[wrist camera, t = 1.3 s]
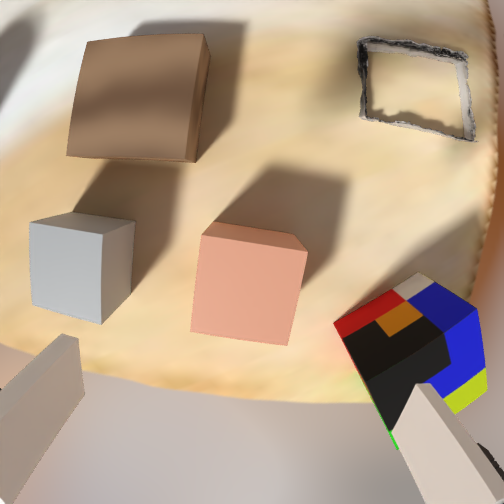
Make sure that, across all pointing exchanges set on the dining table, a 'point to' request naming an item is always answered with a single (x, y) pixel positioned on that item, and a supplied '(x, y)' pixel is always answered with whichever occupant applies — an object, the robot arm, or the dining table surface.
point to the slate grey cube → (81, 264)
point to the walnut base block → (140, 98)
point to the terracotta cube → (247, 283)
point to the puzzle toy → (416, 347)
